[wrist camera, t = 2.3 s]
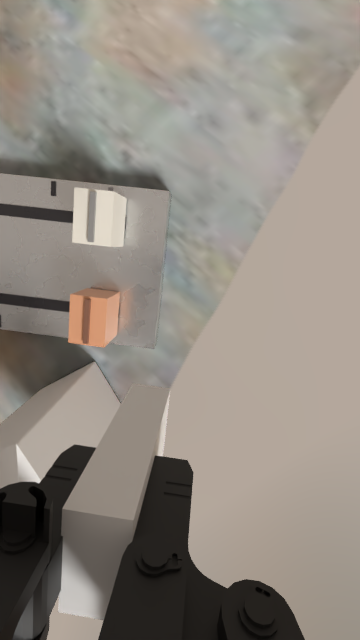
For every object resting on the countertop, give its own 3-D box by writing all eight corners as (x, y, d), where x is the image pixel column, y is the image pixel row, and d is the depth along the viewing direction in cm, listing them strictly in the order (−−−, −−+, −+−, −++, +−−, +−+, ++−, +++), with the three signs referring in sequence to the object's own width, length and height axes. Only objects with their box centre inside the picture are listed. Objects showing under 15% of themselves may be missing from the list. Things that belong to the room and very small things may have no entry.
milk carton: (39, 389, 36) (-138, 541, 18) (95, 360, 35) (-31, 489, 16) (74, 444, 37) (-57, 641, 19) (130, 417, 36) (49, 600, 17)
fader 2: (85, 330, 32) (66, 343, 28) (87, 288, 31) (68, 294, 27) (117, 334, 32) (103, 348, 28) (120, 292, 31) (106, 299, 27)
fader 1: (89, 242, 30) (70, 242, 26) (92, 194, 29) (72, 186, 25) (123, 246, 30) (109, 246, 26) (126, 198, 29) (113, 190, 25)
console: (-56, 315, 35) (-72, 320, 33) (-62, 169, 32) (-81, 164, 30) (156, 343, 34) (153, 349, 32) (171, 194, 31) (169, 190, 29)
